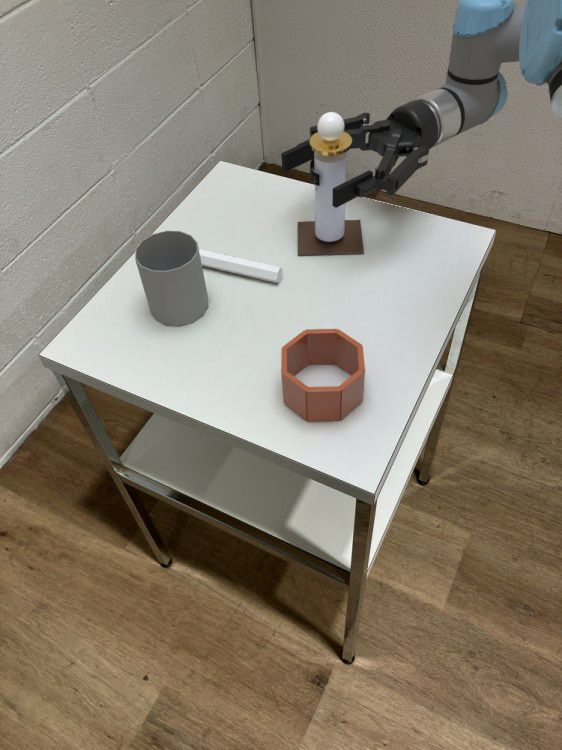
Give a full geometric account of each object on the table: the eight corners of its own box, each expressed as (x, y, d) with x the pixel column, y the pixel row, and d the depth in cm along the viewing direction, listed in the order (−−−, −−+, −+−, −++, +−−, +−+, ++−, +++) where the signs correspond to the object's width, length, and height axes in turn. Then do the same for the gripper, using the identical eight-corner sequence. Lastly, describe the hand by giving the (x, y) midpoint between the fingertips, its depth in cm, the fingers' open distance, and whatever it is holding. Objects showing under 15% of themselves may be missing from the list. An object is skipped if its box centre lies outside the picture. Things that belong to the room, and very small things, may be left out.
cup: (220, 297, 92) (210, 242, 84) (185, 334, 87) (171, 279, 80) (174, 278, 95) (161, 223, 87) (138, 312, 91) (121, 258, 83)
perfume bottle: (343, 222, 101) (347, 100, 85) (351, 245, 97) (357, 121, 82) (308, 227, 100) (305, 105, 85) (314, 250, 97) (313, 127, 81)
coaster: (360, 221, 101) (360, 219, 101) (363, 254, 96) (363, 252, 96) (297, 223, 102) (297, 221, 102) (297, 256, 97) (297, 254, 96)
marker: (184, 261, 98) (280, 282, 94) (178, 263, 96) (275, 285, 92) (186, 244, 97) (283, 264, 93) (179, 246, 96) (278, 267, 91)
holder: (359, 359, 83) (361, 327, 78) (364, 420, 77) (367, 390, 72) (284, 361, 83) (281, 329, 79) (283, 422, 77) (280, 392, 73)
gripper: (476, 179, 93) (362, 242, 85) (369, 118, 105) (261, 168, 97) (486, 131, 87) (365, 193, 79) (371, 73, 99) (257, 122, 92)
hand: (307, 180), depth 88 cm, fingers open, 11 cm apart
